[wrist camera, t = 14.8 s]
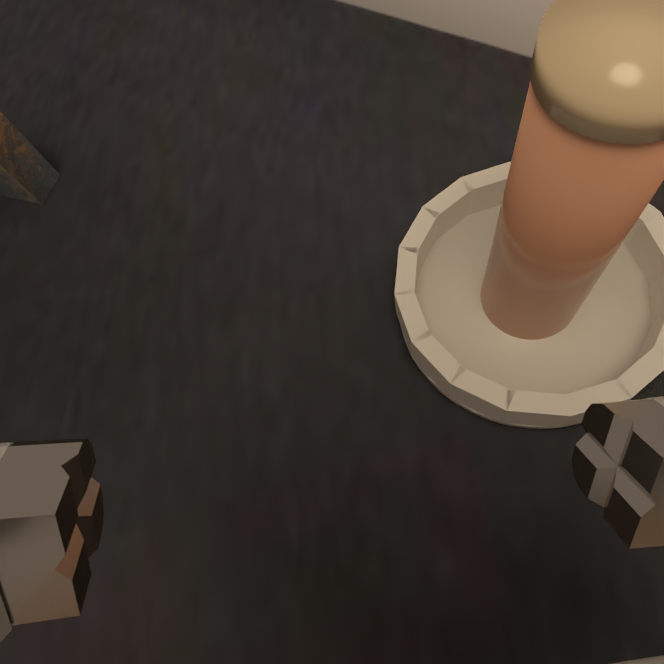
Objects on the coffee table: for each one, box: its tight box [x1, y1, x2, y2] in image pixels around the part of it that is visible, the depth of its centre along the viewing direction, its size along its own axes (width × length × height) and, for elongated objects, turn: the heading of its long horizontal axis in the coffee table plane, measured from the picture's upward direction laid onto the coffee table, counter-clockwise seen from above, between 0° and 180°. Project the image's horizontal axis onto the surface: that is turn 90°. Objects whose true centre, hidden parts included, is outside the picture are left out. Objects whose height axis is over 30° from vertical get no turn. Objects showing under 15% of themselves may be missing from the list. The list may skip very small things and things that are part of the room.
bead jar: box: [481, 0, 664, 340], centre depth 22 cm, size 5×5×16 cm
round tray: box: [394, 162, 664, 429], centre depth 29 cm, size 14×14×3 cm
